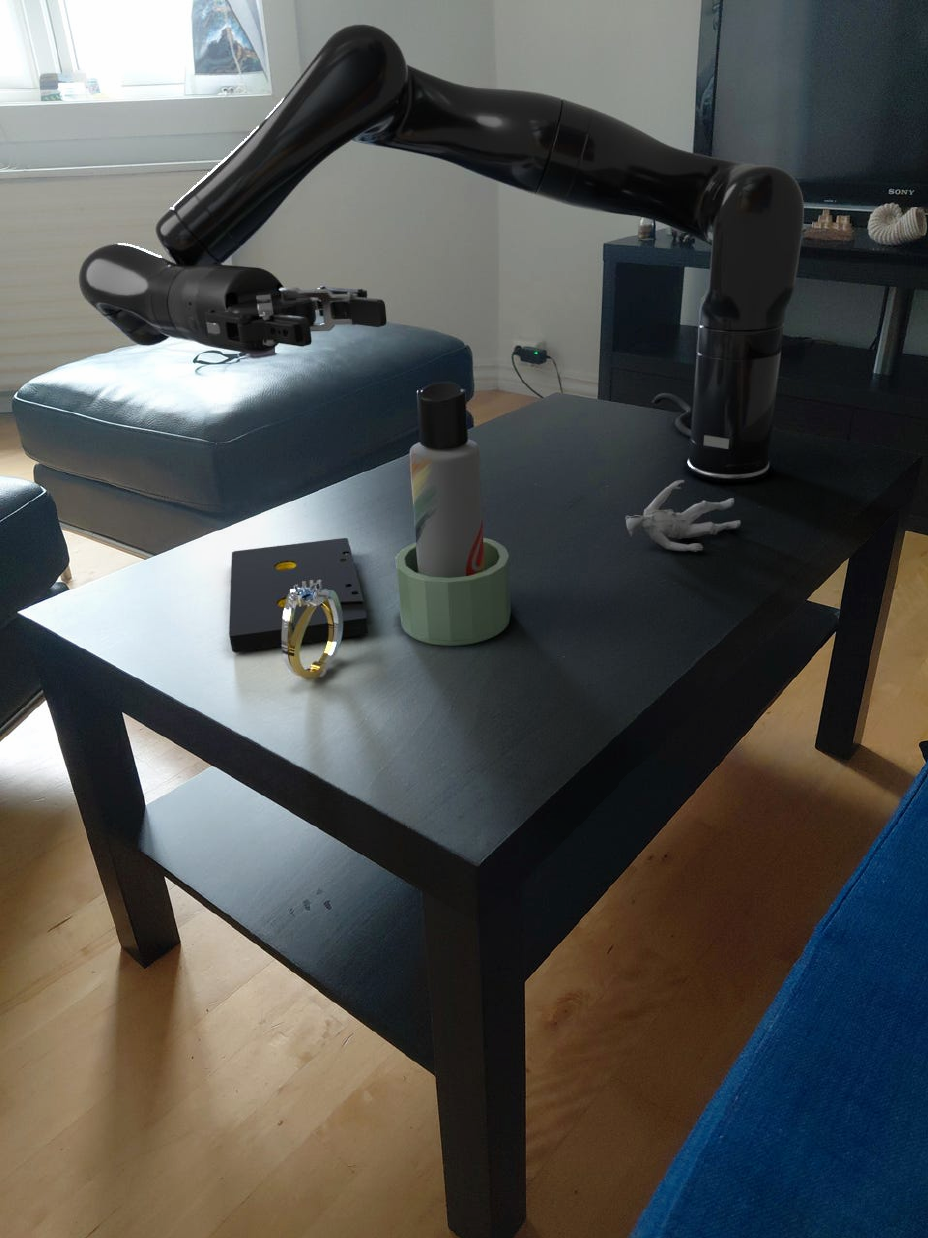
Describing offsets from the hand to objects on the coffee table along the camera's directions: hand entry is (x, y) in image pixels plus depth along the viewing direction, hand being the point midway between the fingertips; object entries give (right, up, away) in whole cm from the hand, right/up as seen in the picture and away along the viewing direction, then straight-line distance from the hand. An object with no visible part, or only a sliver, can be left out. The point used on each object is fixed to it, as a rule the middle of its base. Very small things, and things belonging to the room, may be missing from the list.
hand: (346, 322), depth 78 cm
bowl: (+9, -25, +5) cm, 27 cm away
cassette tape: (-6, -23, +10) cm, 26 cm away
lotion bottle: (+9, -24, +5) cm, 26 cm away
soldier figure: (+32, -17, +18) cm, 40 cm away
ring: (-2, -29, -2) cm, 29 cm away
